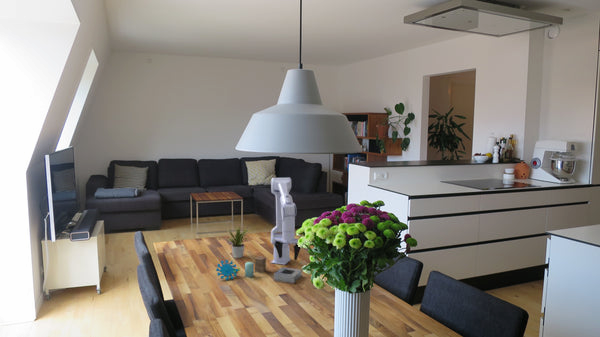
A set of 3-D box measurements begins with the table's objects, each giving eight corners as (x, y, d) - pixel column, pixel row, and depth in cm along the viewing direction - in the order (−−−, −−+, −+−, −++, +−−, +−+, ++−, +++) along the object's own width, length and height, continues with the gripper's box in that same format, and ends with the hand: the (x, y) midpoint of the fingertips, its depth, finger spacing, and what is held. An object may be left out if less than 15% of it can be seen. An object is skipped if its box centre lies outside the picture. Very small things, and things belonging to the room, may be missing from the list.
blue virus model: (216, 278, 197) (216, 258, 203) (214, 284, 202) (214, 264, 208) (240, 279, 201) (240, 259, 207) (237, 285, 205) (237, 265, 211)
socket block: (282, 273, 210) (282, 267, 210) (301, 275, 207) (301, 269, 206) (273, 280, 201) (273, 273, 200) (294, 283, 197) (294, 276, 197)
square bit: (258, 269, 215) (258, 256, 215) (265, 270, 214) (265, 257, 213) (254, 271, 212) (254, 258, 211) (262, 272, 210) (262, 259, 209)
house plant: (257, 258, 231) (257, 228, 229) (234, 263, 223) (233, 231, 222) (245, 251, 243) (245, 222, 241) (222, 255, 235) (222, 225, 233)
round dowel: (247, 273, 209) (247, 261, 208) (255, 274, 207) (255, 262, 206) (243, 276, 205) (243, 264, 204) (251, 277, 203) (251, 265, 203)
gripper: (270, 230, 200) (270, 259, 201) (300, 233, 195) (299, 263, 196) (276, 226, 206) (276, 254, 208) (305, 230, 201) (305, 258, 203)
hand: (288, 258), depth 203 cm, fingers open, 7 cm apart
